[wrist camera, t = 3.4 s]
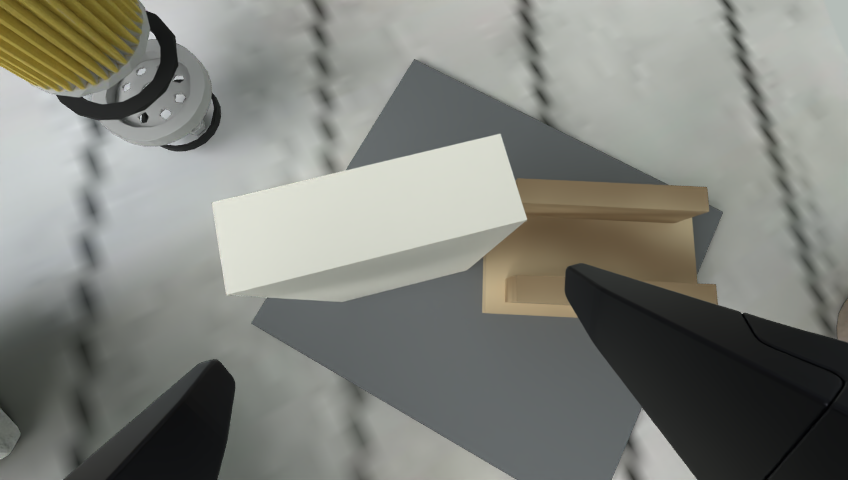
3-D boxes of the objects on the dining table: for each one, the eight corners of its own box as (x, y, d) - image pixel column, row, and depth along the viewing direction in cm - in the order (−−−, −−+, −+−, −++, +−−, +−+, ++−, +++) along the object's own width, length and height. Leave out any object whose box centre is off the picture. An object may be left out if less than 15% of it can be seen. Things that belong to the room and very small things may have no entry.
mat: (717, 213, 21) (723, 212, 21) (589, 519, 19) (592, 524, 18) (414, 63, 23) (414, 59, 23) (254, 323, 20) (250, 323, 20)
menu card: (467, 270, 20) (526, 219, 9) (342, 302, 20) (226, 295, 8) (456, 232, 21) (500, 133, 9) (333, 262, 20) (211, 202, 9)
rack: (687, 322, 20) (742, 326, 16) (482, 312, 20) (494, 314, 17) (677, 197, 21) (726, 175, 18) (484, 188, 21) (496, 165, 18)
